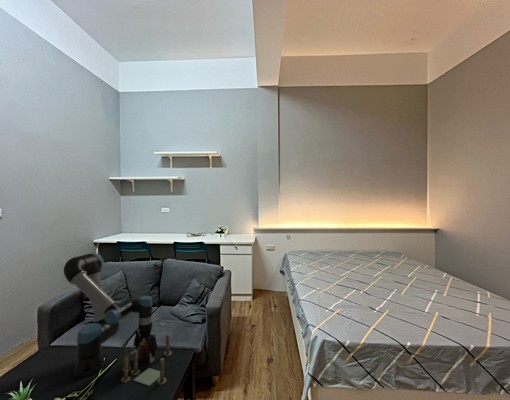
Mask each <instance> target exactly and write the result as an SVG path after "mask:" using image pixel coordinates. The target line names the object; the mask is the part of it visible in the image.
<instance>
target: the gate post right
mask: <svg viewBox="0 0 510 400" xmlns="http://www.w3.org/2000/svg"><path fill="white" fill-rule="evenodd" d="M159 371H160V378H159V379H157V380H156V384H157V385H159V386H163V385H165V384H166V383H167V382H168V381H167V377H165V358H163V357H162V358H160V359H159Z"/></svg>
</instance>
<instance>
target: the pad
mask: <svg viewBox="0 0 510 400" xmlns="http://www.w3.org/2000/svg"><path fill="white" fill-rule="evenodd" d="M158 379H160V370H157V369H153V368H152V367H151V368H150V367H148V368H147V369H146V370H144V371H143V372H141V373H139V374H138V375H137V376H136V377H135V378H133V381H134V382H135V383H138V384H141V385H144V386H147V387H151V386H152V385H154V383H155V382H157V381H158Z"/></svg>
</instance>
